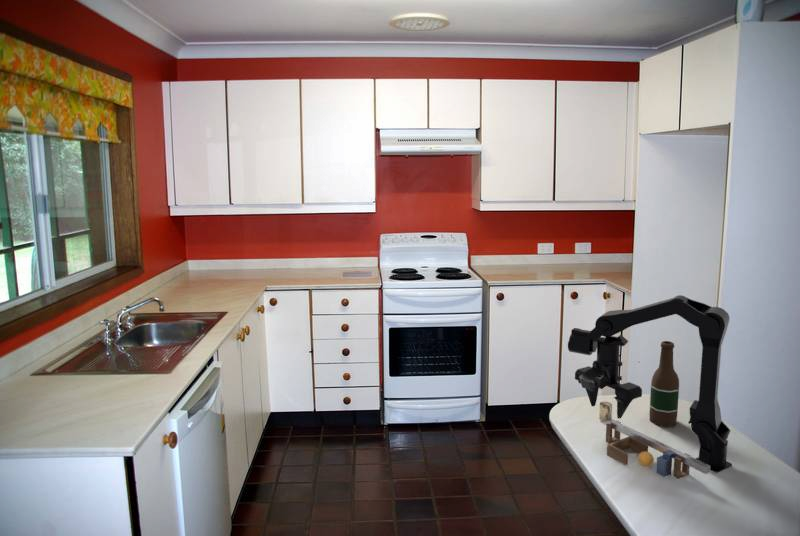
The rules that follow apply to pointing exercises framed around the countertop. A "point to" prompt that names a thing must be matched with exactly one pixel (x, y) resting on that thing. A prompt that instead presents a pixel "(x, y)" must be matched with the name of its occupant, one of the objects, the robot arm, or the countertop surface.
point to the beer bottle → (664, 389)
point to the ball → (645, 458)
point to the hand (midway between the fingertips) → (606, 411)
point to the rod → (652, 444)
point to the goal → (618, 447)
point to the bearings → (677, 461)
